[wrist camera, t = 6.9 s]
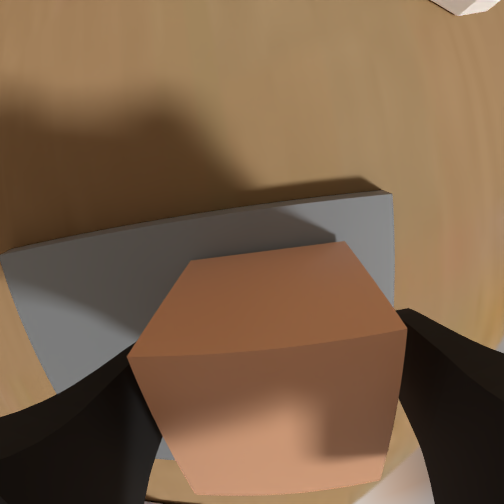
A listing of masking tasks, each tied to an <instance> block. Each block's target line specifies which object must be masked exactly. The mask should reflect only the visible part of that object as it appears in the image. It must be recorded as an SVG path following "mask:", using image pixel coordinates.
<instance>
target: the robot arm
mask: <svg viewBox="0 0 504 504" xmlns="http://www.w3.org/2000/svg"><path fill="white" fill-rule="evenodd" d="M396 312H397V314H398V315H399V317H400V318H401V320H402V321H403V323H404V324H405V326H406V327H407V338H406V348H405V356H404V364H403V372H402V379H401V385H400V392H399V400H400V402H401V404H402V407H403V409H404V411H405V413H406V415H407V417H408V420H409V422H410V424H411V426H412V428H413V431H414V433H415V435H416V437H417V440H418V442H419V445H420V447H421V450H422V453H423V456H424V459H425V463H426V467H427V471H428V474H429V478H430V483H431V487H432V492H433V497H434V502H435V504H504V353H501V352H498V351H496V350H493V349H490V348H488V347H486V346H483V345H481V344H479V343H477V342H474V341H472V340H470V339H468V338H466V337H464V336H462V335H460V334H458V333H456V332H454V331H452V330H450V329H448V328H446V327H444V326H443V325H441V324H439V323H437V322H435V321H433V320H431V319H430V318H428V317H426V316H424V315H422V314H420V313H418V312H416V311H414V310H412V309H409V308H407V309H402V310H396ZM135 343H136V342H135ZM135 343H133V344H132V345H130V346H129V347H127V348H126V349H125V350H123V351H122V352H120V353H119V354H118V355H116V356H115V357H113V358H112V359H111V360H109V361H108V362H107V363H105V364H104V365H102V366H101V367H100V368H98V369H97V370H95V371H94V372H92V373H91V374H89V375H88V376H86V377H85V378H83V379H82V380H80V381H79V382H77V383H75V384H74V385H72V386H71V387H69V388H67V389H66V390H64V391H62V392H60V393H58V394H56V395H54V396H53V397H51V398H49V399H47V400H45V401H43V402H40V403H38V404H35V405H33V406H31V407H28V408H26V409H23V410H21V411H18V412H15V413H12V414H9V415H6V416H3V417H0V504H161V503H154V502H147V501H145V496H146V491H147V486H148V481H149V477H150V473H151V469H152V466H153V463H154V460H155V457H156V454H157V451H158V449H159V446H160V443H161V440H162V437H163V436H162V434H161V432H160V430H159V428H158V426H157V424H156V422H155V420H154V418H153V416H152V413H151V411H150V409H149V407H148V405H147V403H146V401H145V398H144V396H143V394H142V392H141V389H140V387H139V385H138V383H137V380H136V378H135V376H134V373H133V371H132V368H131V366H130V364H129V361H128V359H127V356H128V354H129V353H130V351H131V349H132V348H133V346H134V345H135Z"/></svg>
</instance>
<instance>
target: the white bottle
mask: <svg viewBox="0 0 504 504" xmlns="http://www.w3.org/2000/svg"><path fill="white" fill-rule="evenodd" d="M431 1H433V2H434V3H436V4H438V5H440V6H441V7H443V8H445V9H446V10H448V11H450V12H451V13H453V14H454V15H456V16H461V15H466V14H472V13H478V12H485V11H487V10H489V9H490V8H491V7H493V6H494V5H495V4H496V3H498V2H499V1H500V0H431Z"/></svg>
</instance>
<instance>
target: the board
mask: <svg viewBox="0 0 504 504" xmlns="http://www.w3.org/2000/svg"><path fill="white" fill-rule="evenodd" d="M340 241H345V242H346V243H347V245H348V246H349V247H350V249H351V250H352V251H353V253H354V254H355V255H356V257H357V258H358V259H359V261H360V262H361V263H362V265H363V266H364V267H365V269H366V270H367V272H368V273H369V274H370V276H371V277H372V278H373V280H374V281H375V283H376V284H377V285H378V287H379V288H380V290H381V291H382V292H383V294H384V295H385V297H386V298H387V299H388V301H389V302H390V304H391V305H392V307H393V308H394V273H395V251H394V215H393V197H392V194H391V193H389V192H386V191H384V190H379V191H369V192H359V193H349V194H340V195H331V196H322V197H314V198H305V199H297V200H289V201H281V202H274V203H266V204H259V205H251V206H244V207H237V208H230V209H224V210H217V211H210V212H204V213H197V214H191V215H185V216H179V217H173V218H167V219H161V220H155V221H149V222H143V223H138V224H132V225H127V226H121V227H116V228H110V229H105V230H100V231H95V232H89V233H84V234H79V235H74V236H69V237H65V238H60V239H55V240H50V241H45V242H41V243H36V244H32V245H27V246H23V247H18V248H14V249H10V250H8V251H6V252H4V253H2V254H0V262H1V265H2V268H3V272H4V275H5V278H6V281H7V284H8V287H9V289H10V292H11V295H12V298H13V301H14V303H15V306H16V308H17V311H18V314H19V316H20V319H21V321H22V323H23V326H24V328H25V331H26V333H27V335H28V337H29V340H30V342H31V344H32V346H33V348H34V351H35V353H36V355H37V357H38V359H39V361H40V363H41V365H42V367H43V369H44V371H45V373H46V375H47V377H48V379H49V381H50V382H51V384H52V386H53V388H54V390H55V392H56V393H57V394H58V393H60V392H62V391H64V390H66V389H67V388H69V387H71V386H72V385H74V384H75V383H77V382H79V381H80V380H82V379H83V378H85V377H86V376H88V375H89V374H91V373H92V372H94V371H95V370H97V369H98V368H100V367H101V366H102V365H104V364H105V363H107V362H108V361H109V360H111V359H112V358H113V357H115V356H116V355H118V354H119V353H120V352H122V351H123V350H125V349H126V348H127V347H129V346H130V345H132V344H133V343H135V342H137V340H138V339H139V337H140V335H141V334H142V332H143V331H144V329H145V328H146V326H147V325H148V323H149V322H150V320H151V319H152V317H153V316H154V314H155V313H156V311H157V310H158V308H159V307H160V305H161V304H162V302H163V301H164V299H165V298H166V296H167V295H168V293H169V292H170V290H171V289H172V287H173V286H174V284H175V283H176V281H177V280H178V278H179V277H180V275H181V274H182V272H183V271H184V270H185V268H186V267H187V265H188V264H189V262H190V261H191V260H199V259H207V258H215V257H222V256H230V255H238V254H246V253H254V252H262V251H270V250H278V249H285V248H293V247H301V246H309V245H317V244H325V243H333V242H340ZM155 459H167V460H175V458H174V457H173V455H172V453H171V451H170V449H169V447H168V445H167V443H166V442H165V440H164V438H163V437H162V440H161V443H160V446H159V449H158V451H157V454H156V457H155Z"/></svg>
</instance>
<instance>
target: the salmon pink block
mask: <svg viewBox="0 0 504 504" xmlns="http://www.w3.org/2000/svg"><path fill="white" fill-rule="evenodd" d="M406 338H407V327H406V326H405V324H404V323H403V321H402V320H401V318H400V317H399V315H398V314H397V312H396V311H395V310H394V308H393V307H392V305H391V304H390V302H389V301H388V299H387V298H386V297H385V295H384V294H383V292H382V291H381V290H380V288H379V287H378V285H377V284H376V283H375V281H374V280H373V278H372V277H371V276H370V274H369V273H368V272H367V270H366V269H365V267H364V266H363V265H362V263H361V262H360V261H359V259H358V258H357V257H356V255H355V254H354V253H353V251H352V250H351V249H350V247H349V246H348V245H347V243H346V242H345V241H340V242H333V243H325V244H317V245H309V246H301V247H293V248H285V249H278V250H270V251H262V252H254V253H246V254H238V255H230V256H222V257H215V258H207V259H199V260H191V261H190V262H189V264H188V265H187V267H186V268H185V270H184V271H183V272H182V274H181V275H180V277H179V278H178V280H177V281H176V283H175V284H174V286H173V287H172V289H171V290H170V292H169V293H168V295H167V296H166V298H165V299H164V301H163V302H162V304H161V305H160V307H159V308H158V310H157V311H156V313H155V314H154V316H153V317H152V319H151V320H150V322H149V323H148V325H147V326H146V328H145V329H144V331H143V332H142V334H141V335H140V337H139V339H138V340H137V342H136V343H135V345H134V346H133V348H132V349H131V351H130V353H129V354H128V356H127V359H128V361H129V364H130V366H131V368H132V371H133V373H134V376H135V378H136V380H137V383H138V385H139V387H140V389H141V392H142V394H143V396H144V398H145V401H146V403H147V405H148V407H149V409H150V411H151V413H152V416H153V418H154V420H155V422H156V424H157V426H158V428H159V430H160V432H161V434H162V436H163V438H164V440H165V442H166V443H167V445H168V447H169V449H170V451H171V453H172V455H173V457H174V458H175V460H176V462H177V464H178V466H179V467H180V469H181V471H182V473H183V474H184V476H185V478H186V480H187V481H188V483H189V485H190V486H191V488H192V490H193V491H194V493H195V494H200V495H223V496H254V495H278V494H292V493H303V492H312V491H321V490H328V489H335V488H341V487H348V486H353V485H359V484H364V483H369V482H373V481H378V480H380V479H381V475H382V472H383V468H384V464H385V460H386V456H387V452H388V448H389V443H390V439H391V434H392V430H393V425H394V420H395V415H396V409H397V404H398V398H399V392H400V385H401V379H402V372H403V364H404V356H405V348H406Z"/></svg>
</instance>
